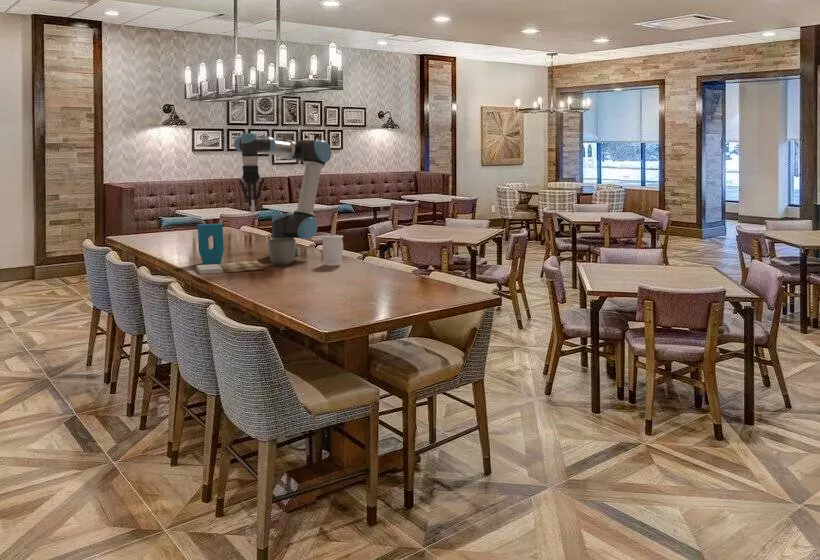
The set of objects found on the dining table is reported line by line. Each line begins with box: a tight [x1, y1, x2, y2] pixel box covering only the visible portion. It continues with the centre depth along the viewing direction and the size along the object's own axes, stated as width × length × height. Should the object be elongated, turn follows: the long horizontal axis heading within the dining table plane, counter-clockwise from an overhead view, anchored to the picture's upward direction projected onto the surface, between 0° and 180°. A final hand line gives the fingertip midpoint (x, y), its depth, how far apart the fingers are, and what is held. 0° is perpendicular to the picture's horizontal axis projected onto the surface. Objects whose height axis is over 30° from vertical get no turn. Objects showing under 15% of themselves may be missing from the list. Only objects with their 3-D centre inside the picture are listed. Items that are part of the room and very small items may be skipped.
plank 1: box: [219, 260, 260, 269], centre depth 379 cm, size 18×6×2 cm, turn 113°
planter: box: [267, 238, 297, 267], centre depth 387 cm, size 14×14×13 cm
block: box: [197, 223, 225, 265], centre depth 392 cm, size 12×5×20 cm, turn 117°
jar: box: [321, 234, 344, 267], centre depth 388 cm, size 11×10×15 cm
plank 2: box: [223, 262, 264, 274], centre depth 371 cm, size 18×6×2 cm, turn 113°
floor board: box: [196, 264, 225, 275], centre depth 370 cm, size 11×15×2 cm
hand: (253, 212), depth 381 cm, fingers closed
